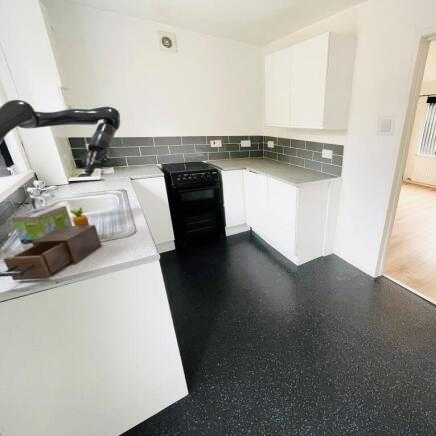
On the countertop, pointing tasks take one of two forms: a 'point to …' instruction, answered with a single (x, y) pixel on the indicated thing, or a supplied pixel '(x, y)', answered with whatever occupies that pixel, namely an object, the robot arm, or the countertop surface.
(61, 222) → the tea box
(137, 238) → the countertop surface
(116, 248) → the countertop surface
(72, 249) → the cabinet
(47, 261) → the drawer
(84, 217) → the carrot
